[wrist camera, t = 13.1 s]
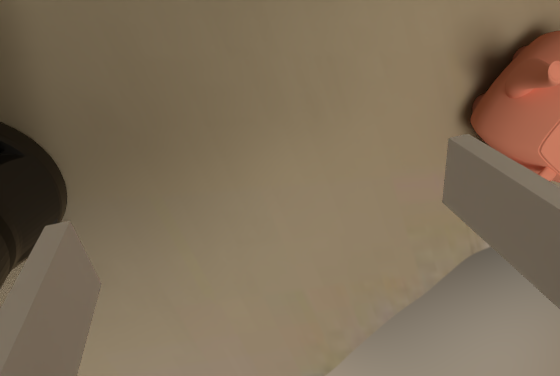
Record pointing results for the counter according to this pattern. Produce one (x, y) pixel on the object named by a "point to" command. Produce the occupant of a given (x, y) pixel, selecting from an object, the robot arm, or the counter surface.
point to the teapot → (525, 108)
